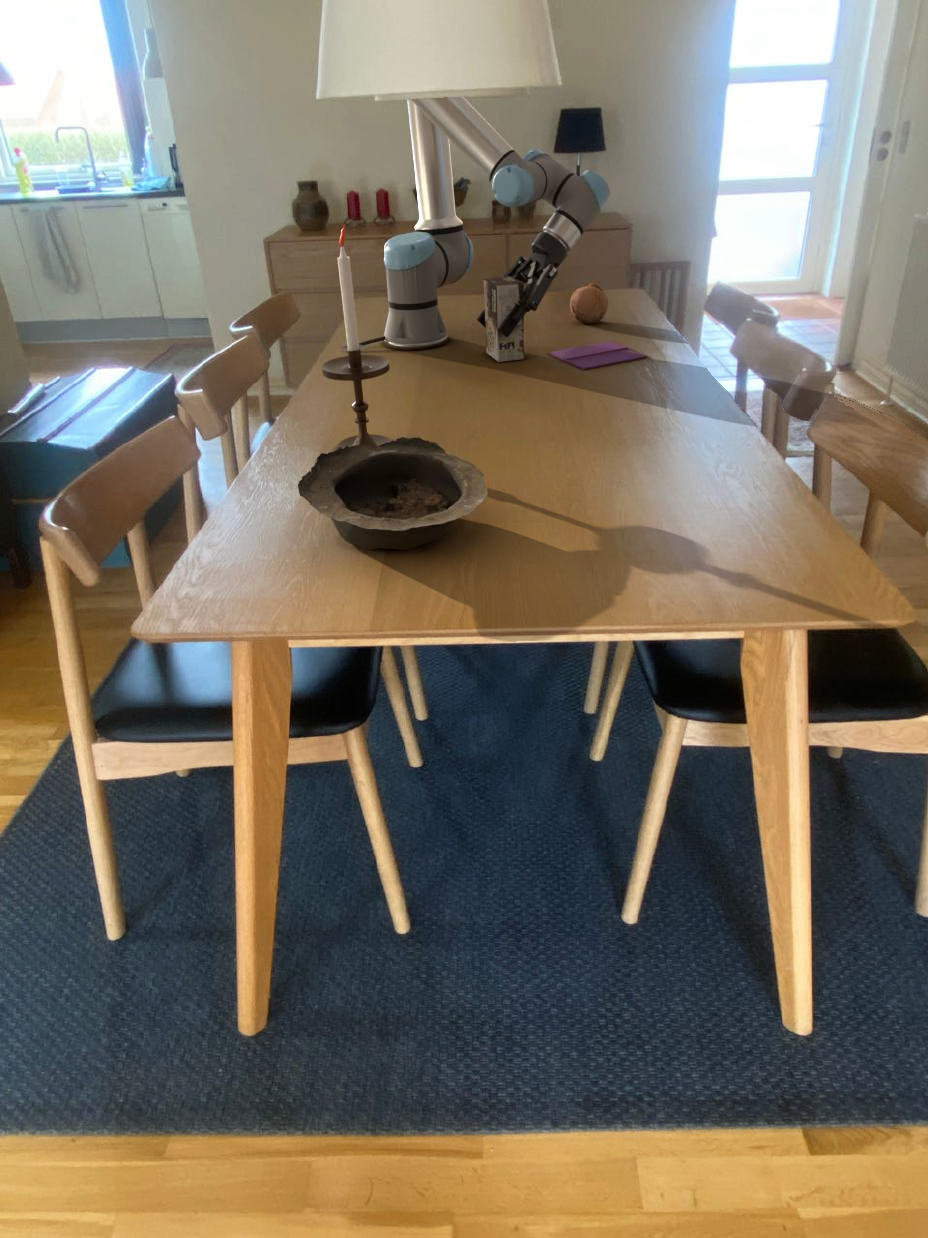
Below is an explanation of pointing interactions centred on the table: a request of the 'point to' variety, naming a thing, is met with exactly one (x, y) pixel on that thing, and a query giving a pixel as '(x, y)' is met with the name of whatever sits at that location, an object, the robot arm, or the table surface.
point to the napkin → (597, 355)
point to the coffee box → (503, 318)
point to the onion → (589, 304)
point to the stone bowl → (393, 492)
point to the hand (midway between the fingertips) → (491, 328)
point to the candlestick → (354, 358)
